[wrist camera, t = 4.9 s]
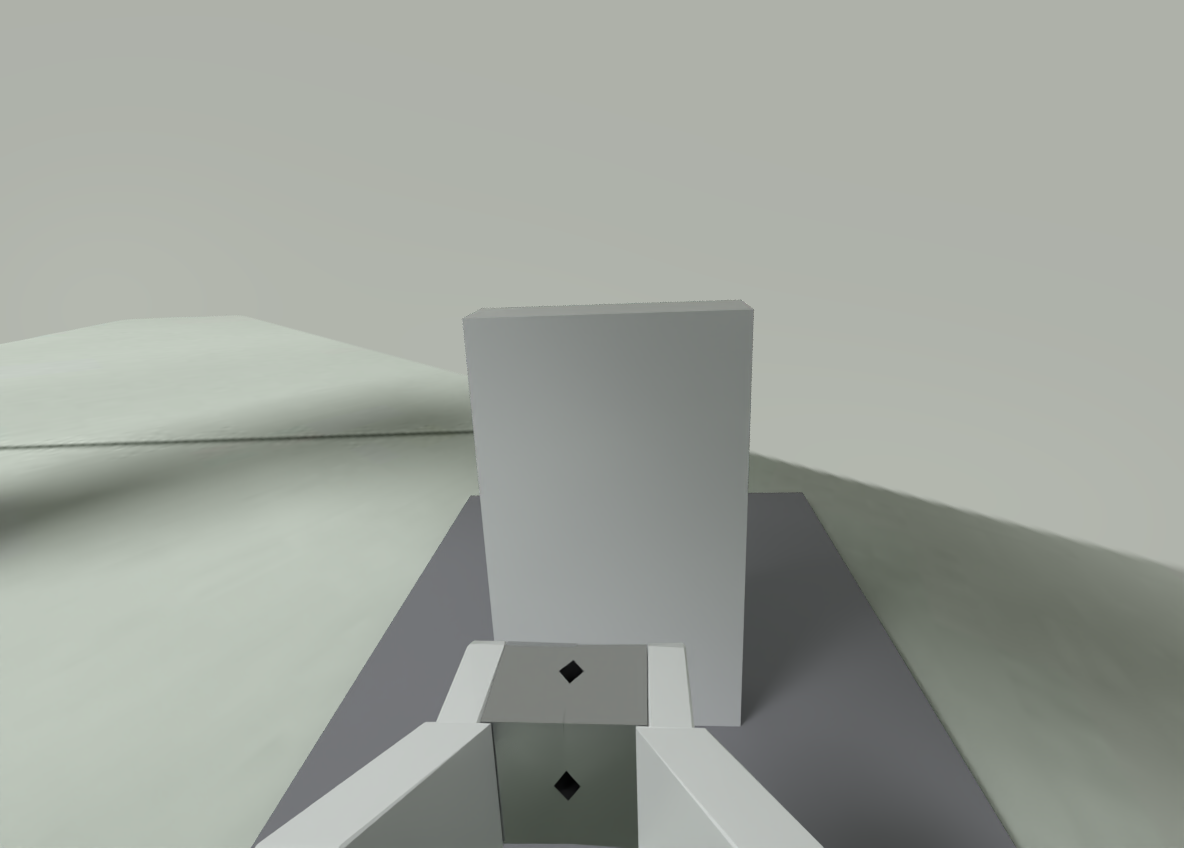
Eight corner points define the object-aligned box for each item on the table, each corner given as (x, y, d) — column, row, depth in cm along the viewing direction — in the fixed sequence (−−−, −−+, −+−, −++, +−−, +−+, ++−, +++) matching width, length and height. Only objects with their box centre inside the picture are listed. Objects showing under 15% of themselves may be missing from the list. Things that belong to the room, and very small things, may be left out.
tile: (740, 726, 19) (753, 309, 15) (502, 722, 19) (462, 318, 16) (730, 677, 21) (740, 298, 17) (515, 673, 21) (482, 307, 18)
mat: (1047, 929, 14) (1053, 908, 14) (238, 895, 15) (233, 876, 15) (801, 502, 35) (802, 492, 35) (471, 505, 36) (470, 495, 36)
